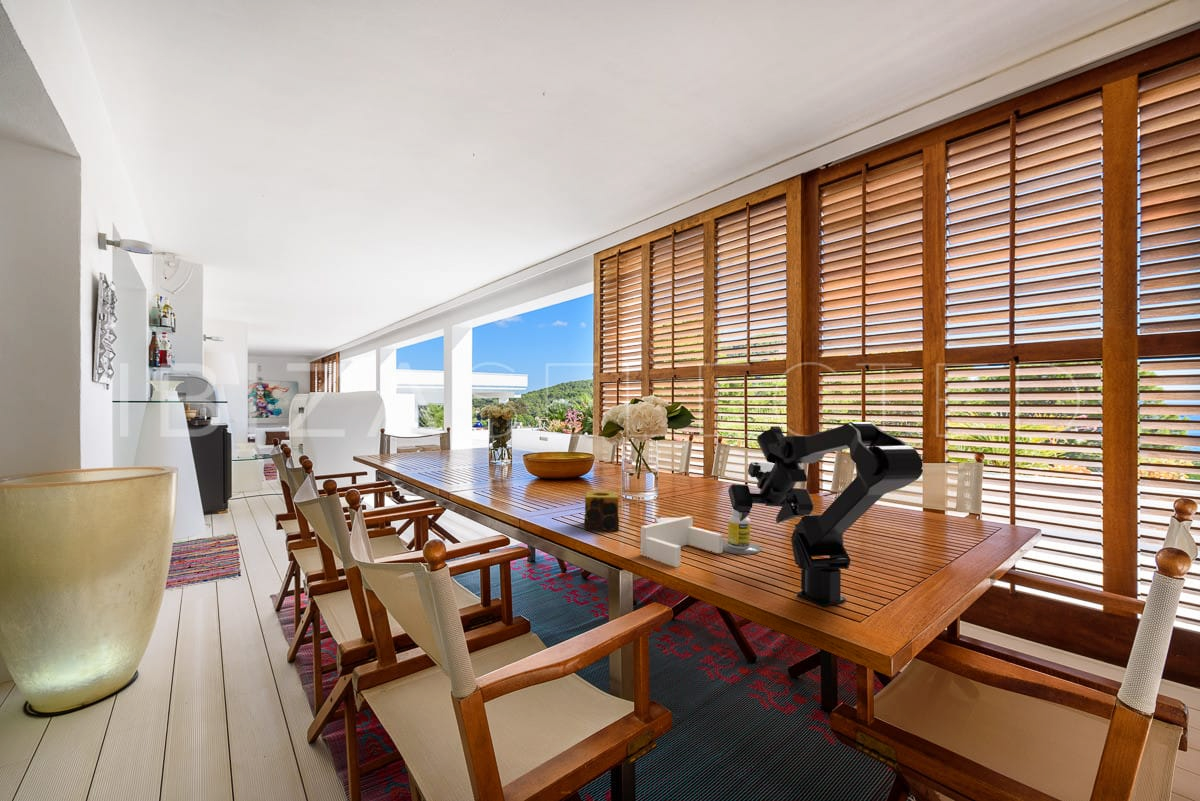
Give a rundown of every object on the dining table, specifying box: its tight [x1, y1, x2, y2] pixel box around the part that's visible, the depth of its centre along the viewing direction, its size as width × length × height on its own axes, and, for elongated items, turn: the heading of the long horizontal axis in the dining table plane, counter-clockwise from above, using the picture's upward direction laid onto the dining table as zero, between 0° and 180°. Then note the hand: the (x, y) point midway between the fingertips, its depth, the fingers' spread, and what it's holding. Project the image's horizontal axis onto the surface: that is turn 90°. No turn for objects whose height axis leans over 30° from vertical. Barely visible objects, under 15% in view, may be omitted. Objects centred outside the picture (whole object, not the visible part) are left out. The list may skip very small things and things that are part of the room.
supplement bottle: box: [727, 508, 751, 549], centre depth 130 cm, size 5×5×10 cm
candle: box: [583, 490, 620, 532], centre depth 150 cm, size 10×10×10 cm
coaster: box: [723, 539, 762, 555], centre depth 130 cm, size 11×11×1 cm
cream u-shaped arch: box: [640, 515, 724, 568], centre depth 125 cm, size 11×18×7 cm, turn 130°
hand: (758, 520), depth 121 cm, fingers open, 9 cm apart
